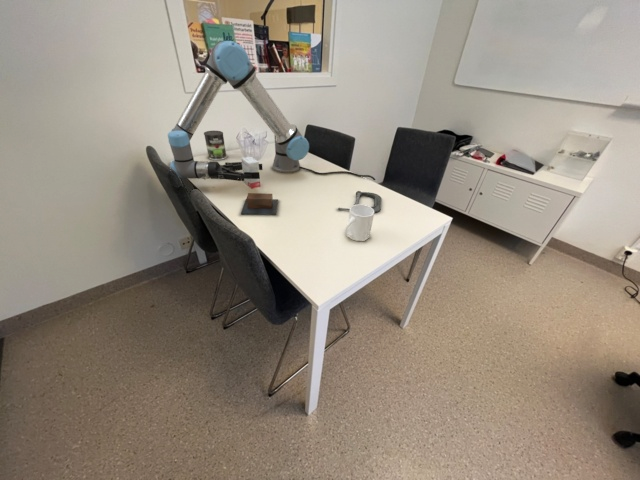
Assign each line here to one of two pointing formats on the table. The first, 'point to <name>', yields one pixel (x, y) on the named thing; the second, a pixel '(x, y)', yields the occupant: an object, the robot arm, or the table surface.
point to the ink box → (250, 166)
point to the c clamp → (377, 198)
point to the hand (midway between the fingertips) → (260, 171)
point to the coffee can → (215, 145)
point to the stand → (260, 204)
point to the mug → (359, 222)
